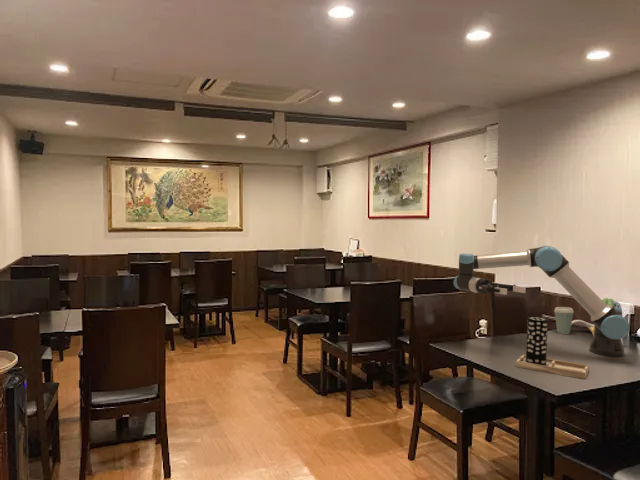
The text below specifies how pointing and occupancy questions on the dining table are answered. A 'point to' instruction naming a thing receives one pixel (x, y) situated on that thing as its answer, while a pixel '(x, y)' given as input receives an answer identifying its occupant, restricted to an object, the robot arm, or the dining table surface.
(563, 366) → the tray
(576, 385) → the dining table surface
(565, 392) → the dining table surface
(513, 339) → the dining table surface
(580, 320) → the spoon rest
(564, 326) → the disposable coffee cup
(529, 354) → the spotted tube
